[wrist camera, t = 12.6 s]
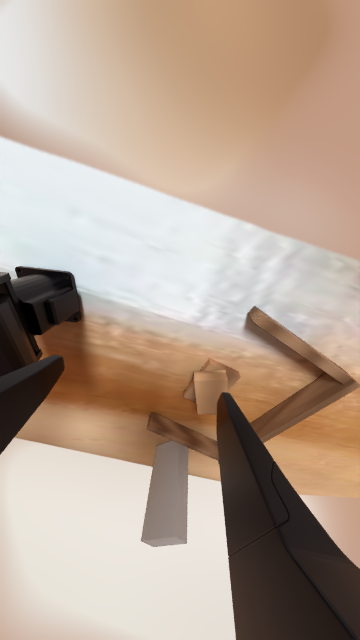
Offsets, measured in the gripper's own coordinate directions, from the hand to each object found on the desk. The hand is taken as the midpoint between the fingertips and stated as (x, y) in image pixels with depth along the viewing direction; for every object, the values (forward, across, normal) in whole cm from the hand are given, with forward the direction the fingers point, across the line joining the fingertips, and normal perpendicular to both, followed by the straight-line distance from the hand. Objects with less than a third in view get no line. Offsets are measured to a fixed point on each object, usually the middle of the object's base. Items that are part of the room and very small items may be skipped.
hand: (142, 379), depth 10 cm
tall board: (+13, -6, +32) cm, 35 cm away
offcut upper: (+12, -8, +12) cm, 19 cm away
